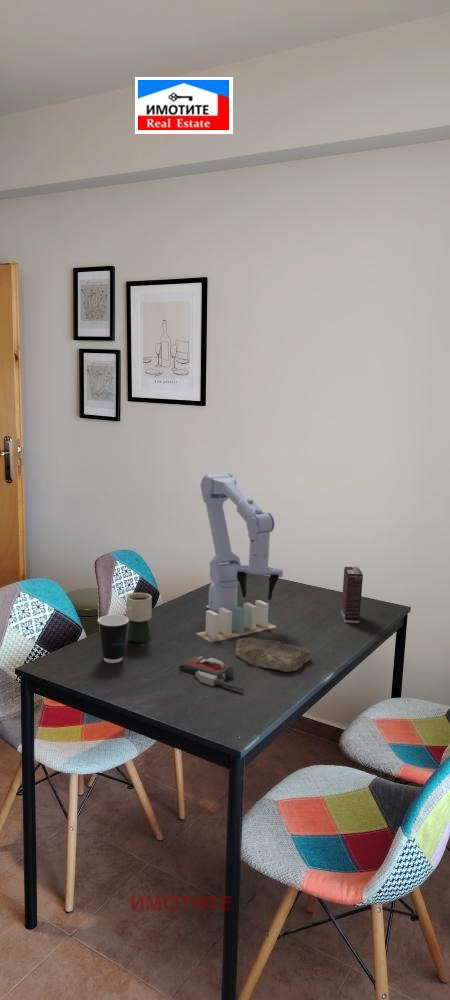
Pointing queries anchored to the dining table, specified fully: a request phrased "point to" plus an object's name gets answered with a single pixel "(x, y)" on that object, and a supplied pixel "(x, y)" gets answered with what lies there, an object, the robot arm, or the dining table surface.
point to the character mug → (139, 616)
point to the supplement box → (351, 594)
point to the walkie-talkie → (209, 671)
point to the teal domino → (237, 618)
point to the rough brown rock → (272, 654)
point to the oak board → (234, 633)
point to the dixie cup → (113, 636)
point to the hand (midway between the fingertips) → (257, 597)
